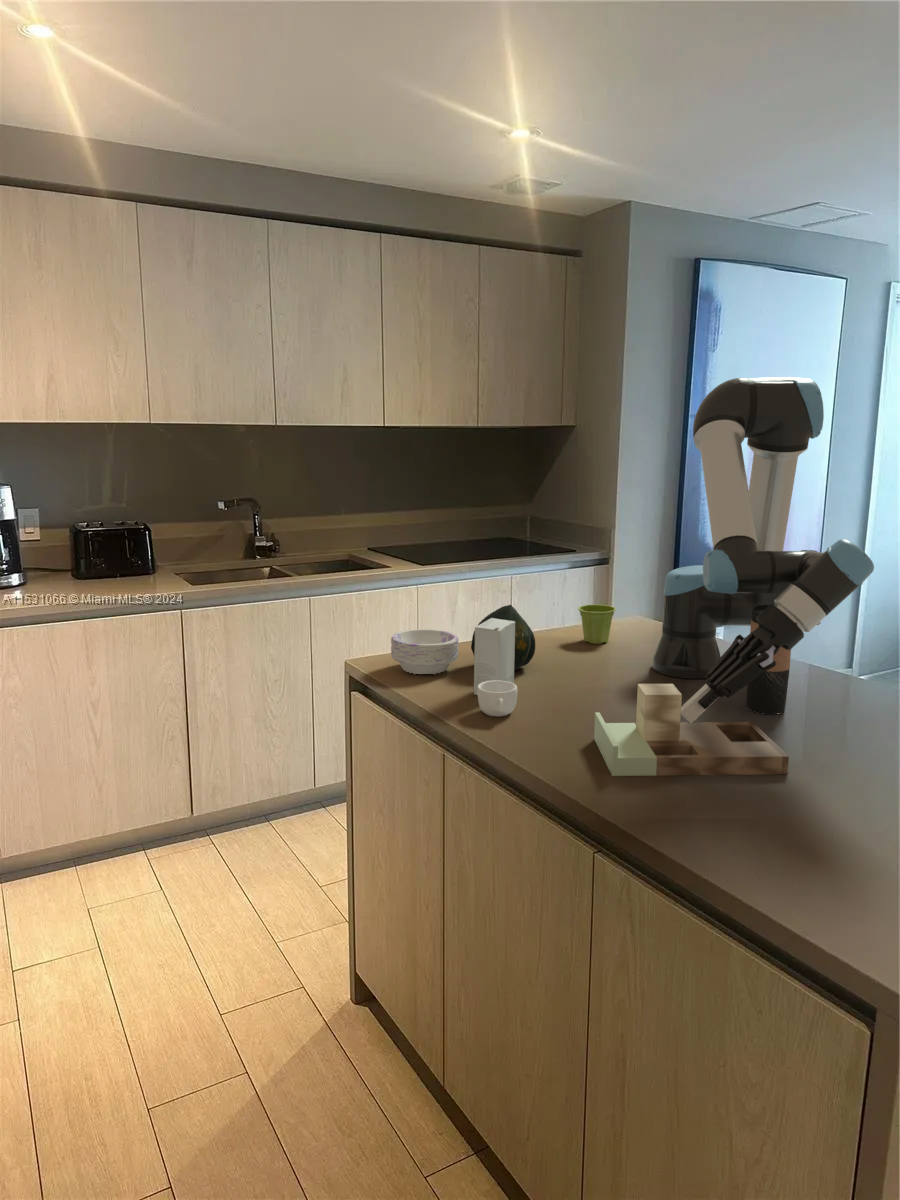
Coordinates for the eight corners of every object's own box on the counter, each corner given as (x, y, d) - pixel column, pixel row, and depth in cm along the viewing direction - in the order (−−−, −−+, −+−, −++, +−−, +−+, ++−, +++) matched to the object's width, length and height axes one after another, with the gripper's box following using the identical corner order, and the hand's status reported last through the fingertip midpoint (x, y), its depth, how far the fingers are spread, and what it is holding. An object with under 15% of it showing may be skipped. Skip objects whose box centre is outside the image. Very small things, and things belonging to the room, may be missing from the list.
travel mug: (787, 705, 169) (795, 606, 165) (784, 717, 163) (792, 614, 159) (747, 700, 173) (753, 603, 169) (742, 711, 166) (749, 610, 162)
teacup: (475, 707, 170) (475, 680, 168) (513, 705, 170) (514, 679, 169) (480, 724, 160) (481, 696, 159) (521, 723, 160) (522, 695, 159)
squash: (469, 655, 186) (512, 602, 186) (452, 641, 200) (493, 592, 201) (515, 694, 190) (558, 642, 190) (496, 677, 204) (536, 629, 205)
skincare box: (489, 684, 184) (490, 617, 181) (515, 688, 181) (516, 620, 178) (472, 695, 176) (472, 625, 173) (499, 700, 174) (500, 628, 171)
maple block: (670, 728, 149) (672, 683, 147) (679, 740, 143) (681, 694, 141) (635, 728, 149) (637, 683, 147) (643, 740, 143) (645, 694, 141)
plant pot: (576, 645, 216) (577, 611, 214) (577, 636, 225) (578, 603, 223) (614, 646, 214) (616, 612, 212) (614, 637, 223) (615, 604, 221)
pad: (633, 738, 152) (634, 712, 151) (656, 775, 136) (657, 745, 135) (594, 739, 152) (595, 712, 151) (612, 775, 136) (613, 746, 135)
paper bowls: (472, 669, 195) (472, 635, 193) (423, 683, 185) (423, 648, 183) (426, 656, 206) (425, 624, 204) (377, 670, 195) (376, 636, 193)
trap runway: (751, 737, 152) (752, 721, 152) (787, 774, 137) (788, 756, 136) (633, 738, 152) (634, 722, 151) (656, 775, 136) (656, 757, 136)
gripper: (821, 643, 136) (711, 745, 139) (787, 624, 149) (687, 718, 152) (790, 611, 135) (680, 715, 138) (759, 595, 147) (659, 690, 150)
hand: (684, 716), depth 145 cm, fingers closed
